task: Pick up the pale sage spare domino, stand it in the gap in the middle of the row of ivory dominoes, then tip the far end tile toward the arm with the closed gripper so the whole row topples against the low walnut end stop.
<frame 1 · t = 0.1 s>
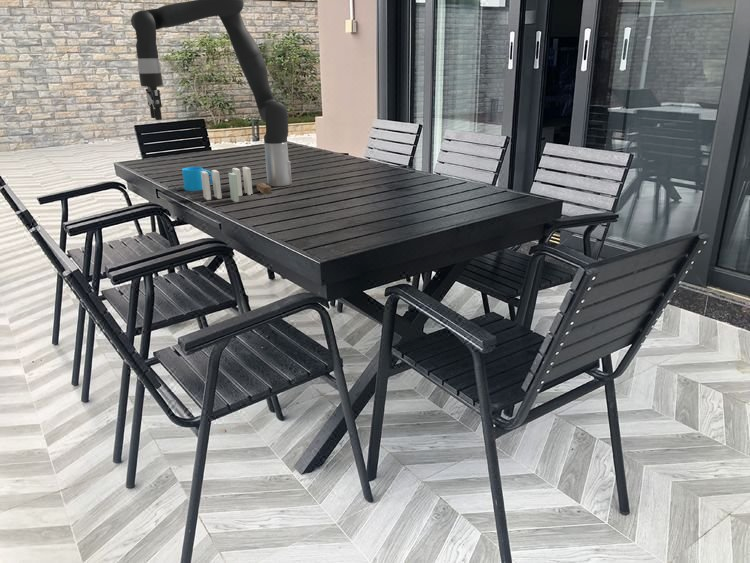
hand: (156, 118, 224), 29 cm above the table, fingers open, 8 cm apart
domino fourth: (238, 194, 237), on the table
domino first: (207, 198, 231), on the table
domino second: (218, 197, 233), on the table
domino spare: (235, 200, 228), on the table
end stop: (264, 191, 241), on the table
domino end: (248, 193, 238), on the table
mug: (199, 188, 250), on the table
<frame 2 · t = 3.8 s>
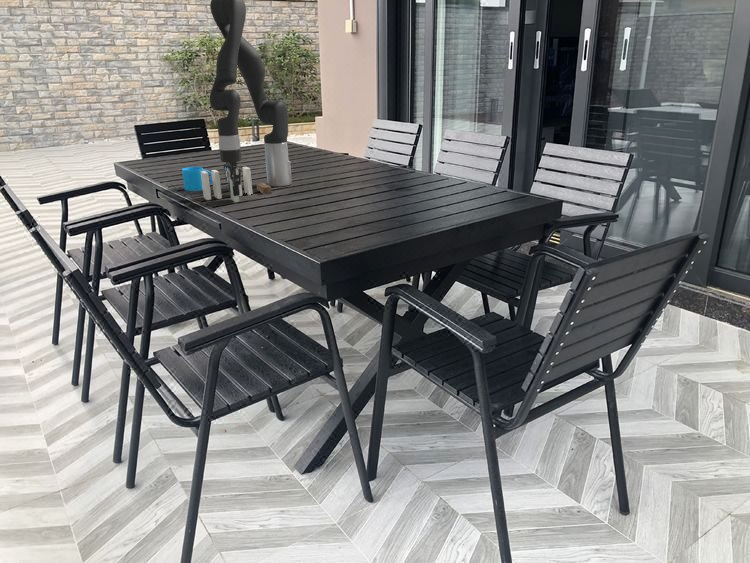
hand: (234, 194, 227), 2 cm above the table, fingers closed on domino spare, 5 cm apart
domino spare: (235, 200, 228), on the table, touching gripper
everything else where it was.
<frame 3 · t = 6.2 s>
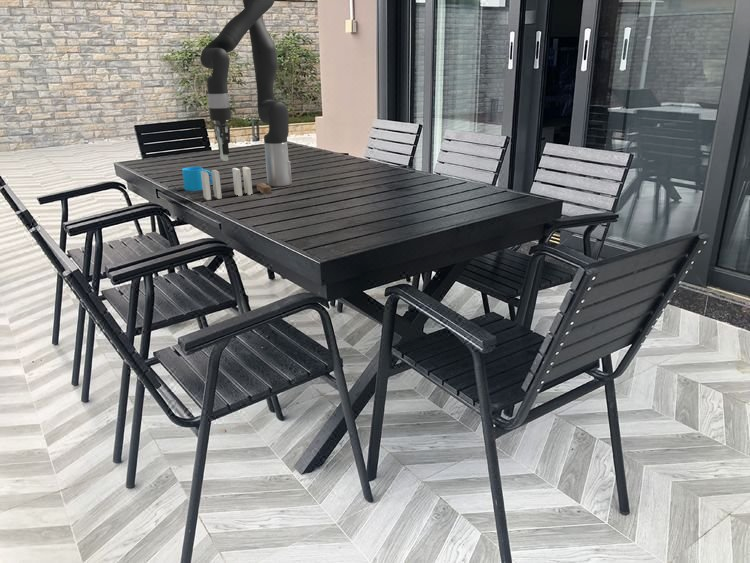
hand: (224, 153, 229), 16 cm above the table, fingers closed on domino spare, 5 cm apart
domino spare: (224, 159, 230), point 14 cm above the table, touching gripper
everything else where it was.
when the fingers open (3 cm above the table, at t = 8.9 s): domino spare stays where it is, on the table.
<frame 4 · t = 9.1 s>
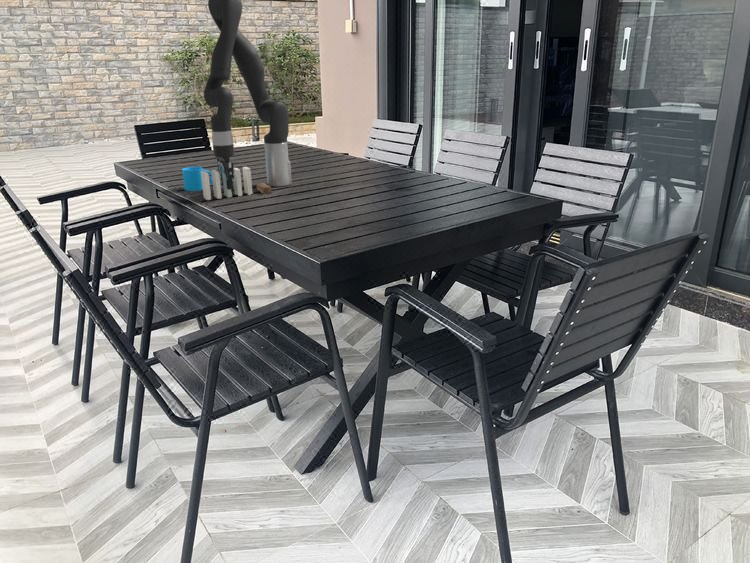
hand: (227, 187, 234), 3 cm above the table, fingers open, 6 cm apart
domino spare: (228, 196, 235), on the table
everything else where it was.
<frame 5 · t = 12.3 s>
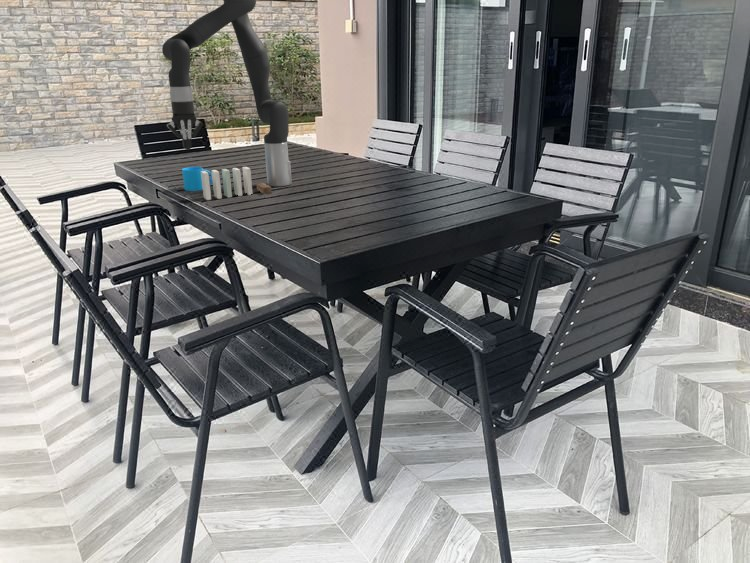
hand: (187, 149, 223), 19 cm above the table, fingers closed
nothing on the table moved.
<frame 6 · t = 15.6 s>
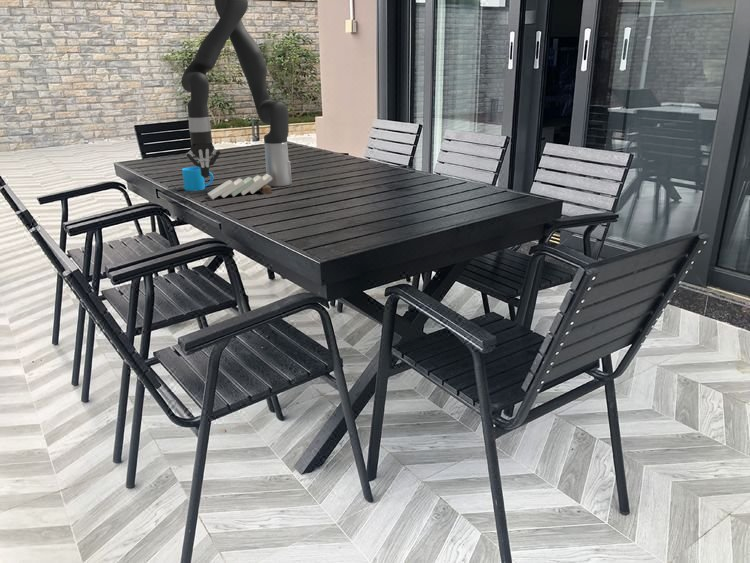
hand: (205, 177, 229), 8 cm above the table, fingers closed
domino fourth: (240, 192, 237), point 1 cm above the table, tilted 61°, touching domino end, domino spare
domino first: (210, 196, 232), point 1 cm above the table, tilted 64°, touching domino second
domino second: (220, 195, 233), point 1 cm above the table, tilted 64°, touching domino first, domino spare
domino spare: (230, 193, 235), point 1 cm above the table, tilted 62°, touching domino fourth, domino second
domino end: (249, 191, 238), point 1 cm above the table, tilted 61°, touching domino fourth, end stop
everything else where it was.
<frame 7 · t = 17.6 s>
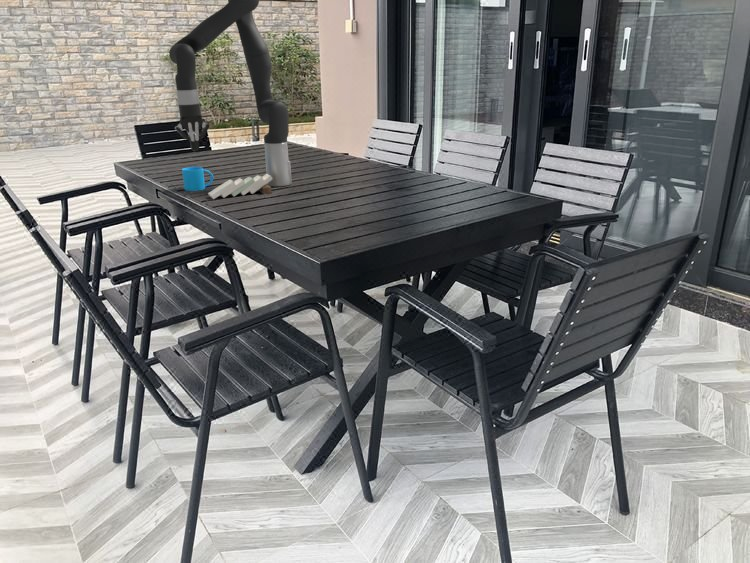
hand: (195, 150, 229), 17 cm above the table, fingers closed
nothing on the table moved.
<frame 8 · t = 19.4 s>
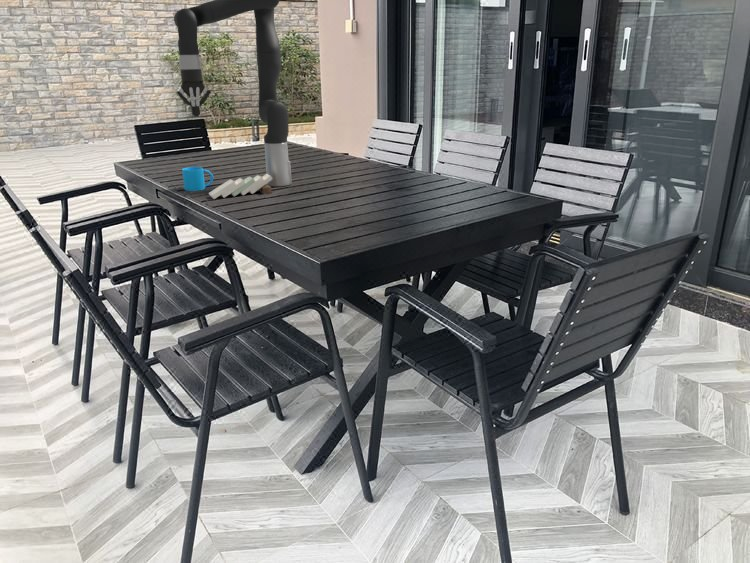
hand: (196, 116, 232), 29 cm above the table, fingers closed
nothing on the table moved.
at the end: domino end tilted 60°; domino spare tilted 61°; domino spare inside the target area (0.3 cm from its centre), point 0.7 cm above the table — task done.
